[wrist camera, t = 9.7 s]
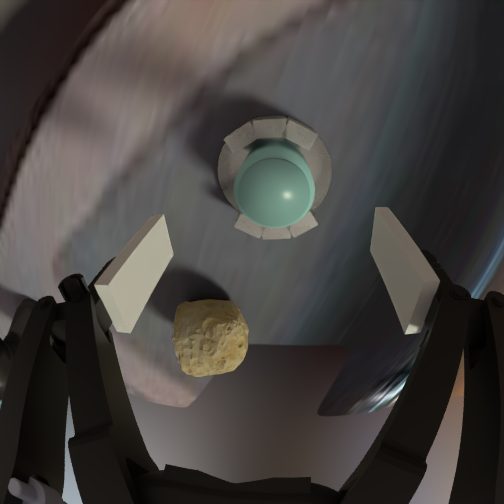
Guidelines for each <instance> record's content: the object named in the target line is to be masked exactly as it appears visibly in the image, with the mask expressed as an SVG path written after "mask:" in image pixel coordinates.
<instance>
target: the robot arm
mask: <svg viewBox="0 0 504 504" xmlns="http://www.w3.org/2000/svg"><path fill="white" fill-rule="evenodd" d="M370 251H371V254H372V256H373V258H374V260H375V262H376V264H377V267H378V269H379V271H380V273H381V276H382V278H383V280H384V283H385V285H386V287H387V290H388V292H389V295H390V297H391V299H392V302H393V304H394V307H395V309H396V312H397V315H398V317H399V320H400V322H401V325H402V328H403V331H404V333H405V334H412V333H420V332H421V329H422V327H423V325H424V322H425V324H426V327H427V329H428V330H427V332H426V334H425V336H424V339H423V341H422V343H421V345H420V350H419V352H418V355H417V357H416V360H415V362H414V364H413V367H412V369H411V371H410V374H409V376H408V378H407V380H406V382H405V385H404V387H403V389H402V391H401V393H400V395H399V397H398V399H397V401H396V403H395V405H394V407H393V409H392V411H391V413H390V414H389V416H388V418H387V420H386V422H385V424H384V425H383V427H382V429H381V430H380V432H379V434H378V436H377V437H376V439H375V440H374V442H373V444H372V445H371V447H370V449H369V450H368V452H367V453H366V455H365V456H364V458H363V459H362V461H361V462H360V464H359V465H358V467H357V468H356V469H355V471H354V472H353V473H352V474H351V476H350V477H349V478H348V479H347V481H346V482H345V483H344V484H343V486H342V487H341V488H340V490H339V491H338V492H337V491H335V490H334V489H331V488H329V487H327V486H323V485H320V484H316V483H311V477H301V478H300V477H299V478H268V479H263V480H258V481H251V482H244V483H230V482H228V481H225V480H222V479H219V478H216V477H214V476H211V475H209V474H206V473H203V472H201V471H198V470H193V469H187V468H181V467H177V466H172V465H167V464H166V466H165V469H164V470H159V469H158V467H157V465H156V464H155V463H154V461H153V460H152V459H151V457H150V455H149V453H148V451H147V449H146V446H145V444H144V441H143V438H142V436H141V433H140V430H139V428H138V425H137V422H136V420H135V416H134V414H133V410H132V407H131V404H130V401H129V398H128V395H127V391H126V388H125V385H124V381H123V378H122V374H121V370H120V366H119V362H118V358H117V354H116V350H115V346H114V342H113V337H112V333H111V332H110V330H109V327H110V326H111V324H112V323H113V325H114V327H115V329H116V330H117V332H125V333H131V331H132V329H133V327H134V325H135V323H136V322H137V320H138V318H139V316H140V314H141V312H142V310H143V308H144V306H145V305H146V303H147V301H148V299H149V297H150V295H151V294H152V292H153V290H154V288H155V286H156V285H157V283H158V281H159V279H160V277H161V276H162V274H163V272H164V270H165V269H166V267H167V265H168V263H169V262H170V260H171V258H172V257H173V251H172V247H171V243H170V239H169V235H168V231H167V226H166V222H165V218H164V214H161V215H152V216H151V217H150V218H149V219H148V220H147V221H146V223H145V224H144V225H143V226H142V227H141V228H140V229H139V230H138V232H137V233H136V234H135V235H134V236H133V237H132V239H131V240H130V241H129V242H128V243H127V244H126V246H125V247H124V248H123V249H122V250H121V252H120V253H119V254H118V255H117V256H116V257H114V258H113V259H111V260H110V261H109V262H107V263H106V264H105V266H104V267H103V268H102V270H101V271H100V272H99V273H98V275H97V276H96V277H95V278H94V279H93V281H92V282H91V283H90V284H89V286H87V284H86V282H85V280H84V278H83V275H81V274H73V275H70V276H68V277H66V278H65V279H63V280H62V281H61V283H60V284H59V286H58V288H59V290H60V292H61V294H62V296H63V298H64V300H65V302H63V303H58V304H57V303H56V301H55V299H54V297H53V296H46V297H42V298H41V299H39V300H38V301H37V302H35V301H32V300H24V301H22V303H21V304H20V305H19V306H18V308H17V309H16V312H15V315H14V317H13V320H12V323H11V326H10V329H9V332H8V334H7V336H6V337H5V338H4V340H2V339H1V338H0V504H67V503H66V502H65V501H63V499H62V493H63V487H64V471H65V468H64V467H65V432H66V418H67V408H68V398H69V397H70V405H71V412H72V419H73V424H74V430H75V436H74V437H72V438H69V441H68V448H69V453H70V458H71V463H72V467H73V471H74V475H75V479H76V482H77V486H78V490H79V493H80V496H81V499H82V503H83V504H409V502H410V500H411V499H412V497H413V495H414V494H415V492H416V490H417V488H418V486H419V484H420V483H421V480H422V479H423V477H424V474H425V472H426V469H427V464H426V462H425V461H426V458H427V455H428V453H429V451H430V448H431V446H432V444H433V441H434V439H435V437H436V435H437V432H438V430H439V427H440V424H441V422H442V419H443V416H444V414H445V411H446V408H447V405H448V402H449V399H450V396H451V393H452V390H453V386H454V383H455V380H456V376H457V372H458V368H459V365H460V360H461V356H462V352H463V347H464V411H463V423H462V433H461V442H460V450H459V456H458V462H457V468H456V473H455V477H454V482H453V486H452V491H451V495H450V500H449V504H504V295H503V294H501V293H499V292H496V291H490V292H488V293H487V295H486V297H485V299H484V300H480V299H474V298H471V295H470V293H469V292H468V291H467V290H466V289H465V288H463V287H461V286H459V285H455V284H453V283H452V281H451V280H450V278H449V277H448V275H447V274H446V272H445V271H444V270H443V269H442V267H441V265H440V264H439V263H438V261H437V260H436V258H435V257H434V255H432V254H431V253H430V252H428V251H427V250H419V248H418V247H417V245H416V244H415V243H414V241H413V240H412V238H411V237H410V236H409V234H408V233H407V231H406V230H405V229H404V227H403V226H402V225H401V223H400V222H399V221H398V220H397V218H396V217H395V216H394V214H393V213H392V212H391V211H390V209H389V208H388V207H375V216H374V225H373V233H372V240H371V248H370Z"/></svg>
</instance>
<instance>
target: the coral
mask: <svg viewBox="0 0 504 504" xmlns="http://www.w3.org/2000/svg"><path fill="white" fill-rule="evenodd" d="M172 328H173V329H174V331H173V336H172V341H173V345H174V350H175V353H176V355H177V357H178V363H179V365H180V368H181V371H184V373H186V374H188V375H193V376H195V377H201V376H207V375H213V374H222V373H225V372H230V371H233V370H235V369H236V367H237V366H238V365H240V363H241V362H242V361H243V359H244V357H245V354H246V352H247V349H248V337H247V336H248V331H249V329H248V327H247V324H246V321H245V320H244V318H243V317H242V314H241V311H240V310H239V308H238V307H237V306H236V305H235V304H234V303H233V302H232V301H225V300H214V299H206V300H198V301H193V302H188V301H185V302H182V303H180V304H179V305H178V307H177V309H176V312H175V319H174V323H173V325H172Z"/></svg>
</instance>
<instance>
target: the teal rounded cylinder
mask: <svg viewBox="0 0 504 504" xmlns="http://www.w3.org/2000/svg"><path fill="white" fill-rule="evenodd" d="M314 196H315V186H314V181H313V178H312V175H311V172H310V169H309V166H308V164H307V161H306V159H305V157H304V155H303V154H302V152H301V151H300V150H299V149H298V148H296V147H295V146H294V145H292V144H290V143H288V142H285V141H280V140H270V141H265V142H263V143H260V144H258V145H257V146H255V147H254V148H253V149H252V150H251V151H250V152H249V153H248V155H247V157H246V158H245V160H244V162H243V164H242V166H241V168H240V170H239V172H238V174H237V176H236V178H235V182H234V197H235V200H236V203H237V205H238V207H239V209H240V210H241V212H242V213H243V214H244V215H245V216H246V217H247V218H248V219H249V220H251V221H252V222H254V223H256V224H258V225H261V226H264V227H269V228H281V227H286V226H289V225H292V224H294V223H296V222H298V221H299V220H300V219H302V218H303V217H304V216H305V215H306V214H307V212H308V211H309V210H310V208H311V206H312V203H313V201H314Z"/></svg>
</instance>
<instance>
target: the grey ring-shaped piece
mask: <svg viewBox="0 0 504 504" xmlns="http://www.w3.org/2000/svg"><path fill="white" fill-rule="evenodd" d="M270 140H280V141H285V142H288V143H290V144H292V145H294V146H295V147H296V148H298V149H299V150H300V151H301V152H302V154H303V155H304V157H305V159H306V161H307V164H308V166H309V169H310V172H311V175H312V178H313V181H314V186H315V196H314V201H313V203H312V206H311V208H310V210H309V211H308V212H307V214H306V215H305V216H304V217H303V218H302V219H300V220H299V221H298V222H296V223H294V224H292V225H289V226H286V227H281V228H269V227H264V226H261V225H258V224H256V223H254V222H252V221H251V220H249V219H248V218H247V217H246V216H245V215H244V214H243V213H242V212H241V210H240V209H239V207H238V205H237V203H236V200H235V197H234V182H235V178H236V176H237V174H238V172H239V170H240V168H241V166H242V164H243V162H244V160H245V158H246V157H247V155H248V153H249V152H250V151H251V150H252V149H253V148H254V147H255V146H257V145H258V144H260V143H263V142H265V141H270ZM224 141H225V144H224V146H223V148H222V150H221V153H220V156H219V160H218V178H219V183H220V186H221V189H222V191H223V193H224V195H225V197H226V198H227V200H228V201H229V202H230V203H231V205H232V206H233V207H234V208H235V209H236V210H238V211H239V213H238V216H237V219H236V222H235V225H234V227H235V228H237V229H239V230H242V231H244V232H246V233H248V234H250V235H252V236H255V237H257V238H260V237H261V235H262V237H263V239H291V234H292V236H293V237H294V238H295V237H296V236H298V235H300V234H302V233H304V232H306V231H308V230H310V229H311V228H313V227H315V226H317V225H318V221H317V217H316V213H315V208H316V207H317V206H318V205H319V204H320V203H321V202H322V200H323V199H324V197H325V195H326V193H327V191H328V188H329V186H330V181H331V172H332V171H331V162H330V157H329V154H328V151H327V149H326V147H325V145H324V144H323V142H322V141H321V139H320V138H319V137H318V134H317V133H316V132H315V130H314V129H312V128H310V127H308V126H307V125H305V124H303V123H301V122H299V121H297V120H295V119H293V118H291V117H289V116H288V118H287V117H285V115H282V116H261V117H256V118H255V119H254V118H253V119H251V120H249V121H248V122H246V123H245V124H243V125H242V126H240V127H239V128H237V129H236V130H234V131H233V132H232V133H230V134H229V135H228V136H227V137H225V138H224Z"/></svg>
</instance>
